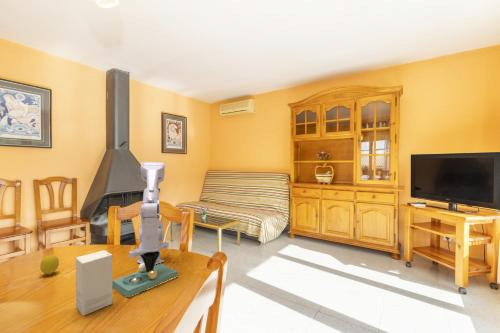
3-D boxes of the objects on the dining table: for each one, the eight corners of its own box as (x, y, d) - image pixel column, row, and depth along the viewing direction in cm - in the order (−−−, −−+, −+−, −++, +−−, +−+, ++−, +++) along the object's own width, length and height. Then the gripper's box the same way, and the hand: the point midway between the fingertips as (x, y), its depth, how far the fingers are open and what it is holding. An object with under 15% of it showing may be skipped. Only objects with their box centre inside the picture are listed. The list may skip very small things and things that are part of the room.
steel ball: (129, 287, 87) (127, 279, 86) (137, 282, 90) (136, 274, 89) (134, 290, 85) (132, 282, 85) (142, 285, 88) (141, 277, 87)
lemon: (48, 278, 92) (48, 257, 92) (36, 277, 93) (36, 255, 93) (62, 272, 97) (62, 252, 97) (50, 270, 98) (51, 250, 98)
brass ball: (144, 277, 87) (148, 267, 88) (151, 278, 89) (155, 269, 90) (149, 279, 85) (153, 270, 86) (156, 281, 87) (160, 272, 88)
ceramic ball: (136, 271, 93) (136, 263, 93) (144, 268, 96) (144, 260, 96) (141, 274, 92) (141, 265, 91) (149, 271, 94) (149, 262, 94)
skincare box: (105, 297, 80) (105, 249, 80) (113, 304, 76) (114, 254, 76) (74, 308, 74) (74, 256, 74) (82, 317, 70) (82, 262, 69)
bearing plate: (160, 269, 101) (161, 263, 101) (177, 277, 95) (177, 271, 95) (112, 287, 86) (112, 280, 86) (128, 298, 80) (128, 290, 80)
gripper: (136, 242, 83) (135, 282, 83) (173, 233, 94) (172, 268, 95) (126, 237, 87) (125, 276, 88) (162, 229, 99) (162, 263, 99)
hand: (149, 271), depth 91 cm, fingers closed
